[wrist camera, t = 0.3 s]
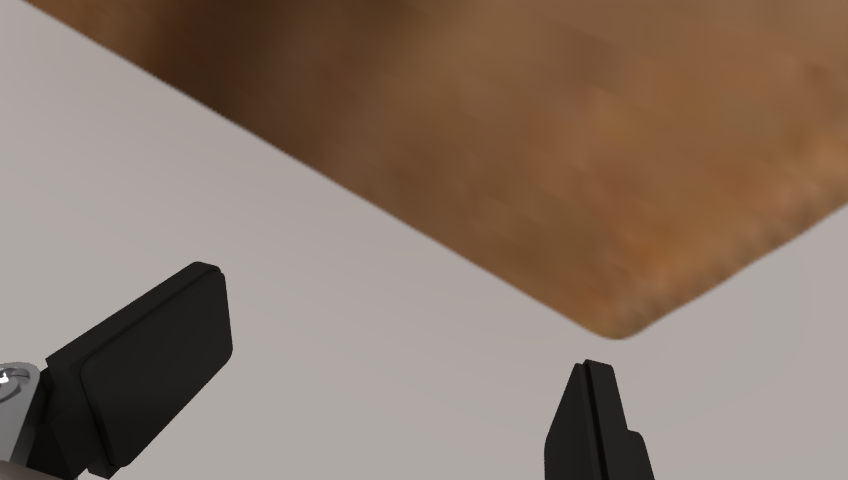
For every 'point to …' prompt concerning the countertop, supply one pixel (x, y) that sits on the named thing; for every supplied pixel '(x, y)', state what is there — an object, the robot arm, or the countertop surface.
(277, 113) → the countertop surface
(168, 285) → the robot arm
